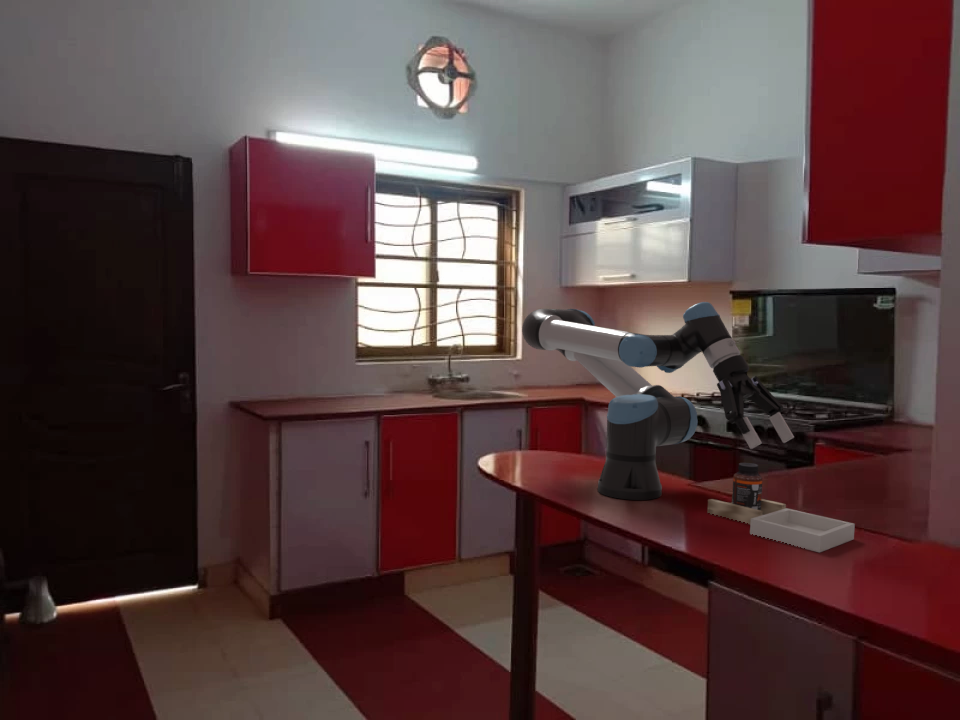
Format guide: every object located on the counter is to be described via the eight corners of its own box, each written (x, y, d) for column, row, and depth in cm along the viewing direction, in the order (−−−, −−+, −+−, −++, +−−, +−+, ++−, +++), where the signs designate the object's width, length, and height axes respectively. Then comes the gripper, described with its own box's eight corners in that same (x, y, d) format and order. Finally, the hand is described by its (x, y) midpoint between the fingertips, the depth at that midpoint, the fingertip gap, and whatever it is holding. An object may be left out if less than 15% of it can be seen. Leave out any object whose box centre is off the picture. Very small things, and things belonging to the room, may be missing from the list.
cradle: (707, 513, 162) (707, 499, 162) (735, 506, 169) (735, 493, 169) (758, 526, 153) (758, 512, 153) (785, 517, 160) (785, 504, 160)
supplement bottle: (762, 520, 158) (765, 467, 157) (733, 518, 159) (735, 466, 158) (758, 513, 164) (760, 462, 163) (729, 511, 165) (732, 460, 164)
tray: (749, 534, 148) (750, 518, 147) (785, 522, 156) (786, 508, 156) (819, 552, 137) (820, 536, 137) (853, 539, 146) (854, 523, 145)
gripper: (707, 354, 163) (755, 440, 155) (767, 352, 179) (814, 430, 170) (683, 372, 168) (728, 456, 160) (744, 368, 184) (788, 445, 175)
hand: (773, 443), depth 165 cm, fingers open, 13 cm apart
